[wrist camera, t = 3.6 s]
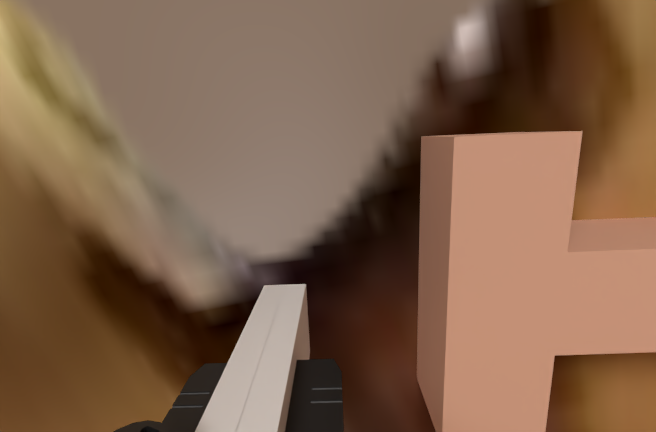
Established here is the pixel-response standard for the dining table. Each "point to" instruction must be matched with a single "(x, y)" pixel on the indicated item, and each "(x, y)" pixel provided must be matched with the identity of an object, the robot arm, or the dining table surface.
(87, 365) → the dining table surface
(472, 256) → the t block
